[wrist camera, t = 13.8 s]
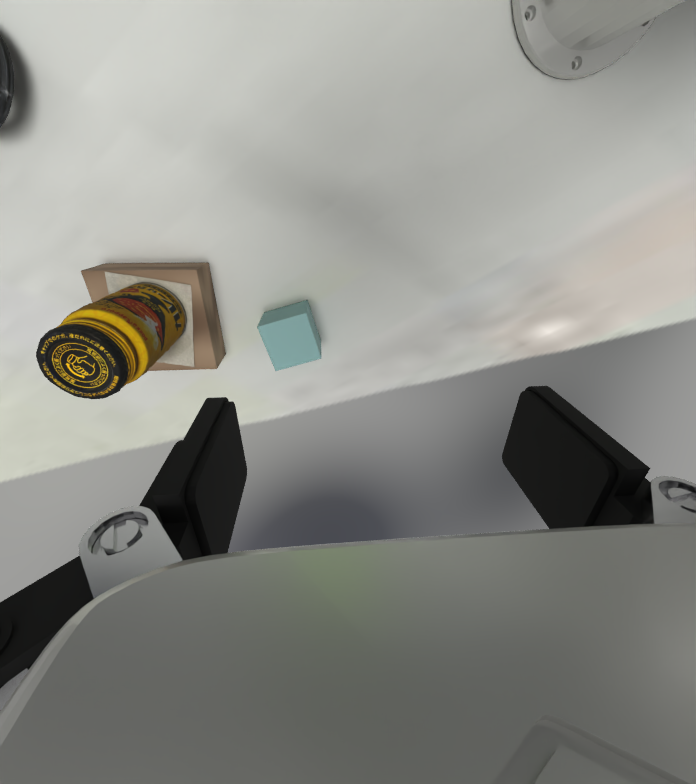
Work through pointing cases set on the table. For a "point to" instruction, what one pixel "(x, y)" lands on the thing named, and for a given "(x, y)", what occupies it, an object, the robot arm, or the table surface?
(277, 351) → the teal cube
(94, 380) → the condiment
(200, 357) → the block
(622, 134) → the table surface
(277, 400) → the table surface
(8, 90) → the milk frother
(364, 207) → the table surface
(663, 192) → the table surface
